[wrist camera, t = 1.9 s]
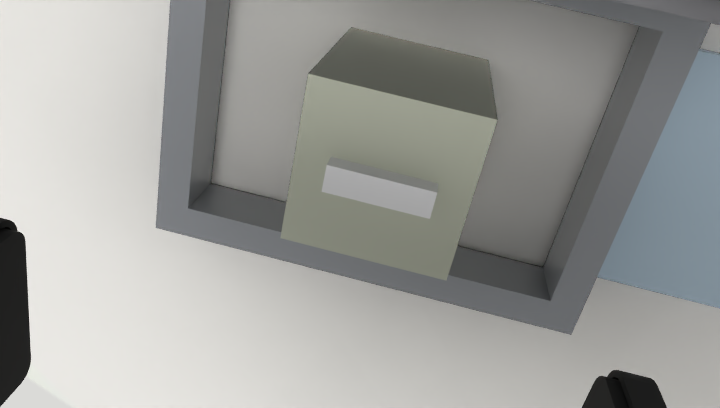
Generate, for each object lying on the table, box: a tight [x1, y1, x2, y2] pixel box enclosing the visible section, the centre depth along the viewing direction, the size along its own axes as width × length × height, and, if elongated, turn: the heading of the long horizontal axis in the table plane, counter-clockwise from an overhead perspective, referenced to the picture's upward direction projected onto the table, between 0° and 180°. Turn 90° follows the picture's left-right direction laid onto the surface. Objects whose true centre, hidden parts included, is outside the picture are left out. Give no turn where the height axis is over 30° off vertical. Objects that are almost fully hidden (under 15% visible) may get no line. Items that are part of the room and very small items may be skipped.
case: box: [156, 0, 720, 335], centre depth 16 cm, size 19×14×15 cm
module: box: [280, 27, 498, 280], centre depth 20 cm, size 5×5×8 cm
